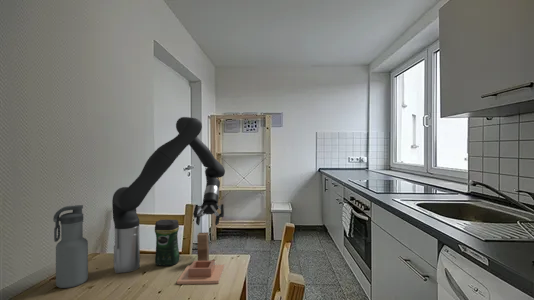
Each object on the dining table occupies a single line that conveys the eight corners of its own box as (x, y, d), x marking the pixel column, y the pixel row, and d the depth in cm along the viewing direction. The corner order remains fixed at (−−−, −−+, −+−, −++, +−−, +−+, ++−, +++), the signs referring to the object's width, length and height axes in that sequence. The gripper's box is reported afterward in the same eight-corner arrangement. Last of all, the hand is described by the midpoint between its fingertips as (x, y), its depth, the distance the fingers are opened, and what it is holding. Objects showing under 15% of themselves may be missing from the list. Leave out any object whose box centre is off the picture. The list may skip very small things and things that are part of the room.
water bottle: (51, 291, 99) (51, 210, 99) (57, 280, 107) (57, 205, 108) (86, 285, 103) (85, 207, 103) (89, 275, 112) (89, 203, 112)
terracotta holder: (218, 283, 103) (218, 272, 103) (176, 284, 103) (176, 273, 103) (224, 267, 118) (224, 257, 118) (187, 267, 118) (187, 257, 118)
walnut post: (207, 263, 122) (206, 235, 123) (197, 263, 122) (197, 235, 123) (208, 259, 126) (208, 232, 127) (199, 259, 126) (199, 232, 127)
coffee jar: (182, 260, 126) (181, 217, 127) (173, 267, 119) (173, 222, 119) (161, 259, 128) (161, 217, 128) (151, 266, 120) (151, 221, 120)
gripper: (196, 191, 143) (190, 220, 131) (224, 191, 143) (221, 219, 131) (198, 200, 148) (193, 228, 136) (226, 200, 148) (223, 228, 137)
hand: (207, 224), depth 134 cm, fingers open, 8 cm apart
